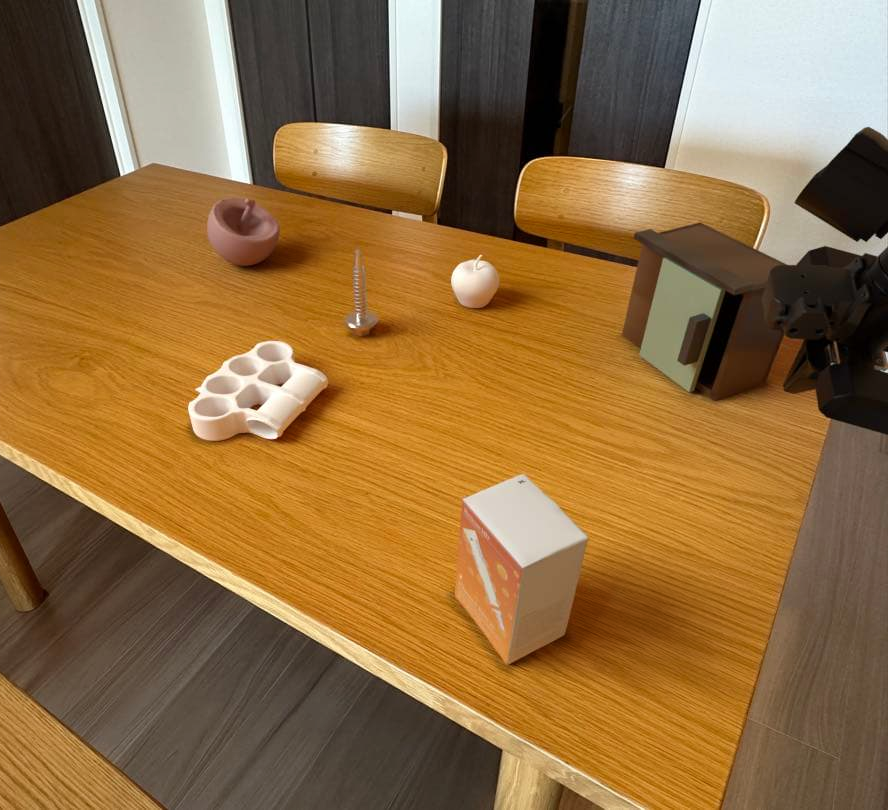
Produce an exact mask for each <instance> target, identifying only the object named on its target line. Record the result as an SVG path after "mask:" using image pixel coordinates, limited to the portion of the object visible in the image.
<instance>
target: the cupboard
mask: <svg viewBox="0 0 888 810" xmlns="http://www.w3.org/2000/svg"><path fill="white" fill-rule="evenodd" d="M633 239H634V240H635V241H637V242H639V243H640V244H641V248H640V251H639V257H638V261H637V264H636V265H637V266H636V269H635V275H634V279H633V284H632V288H631V292H630V297H629V301H628V305H627V310H626V314H625V319H624V323H623V328H622V333H621V336H623V338H625V339H626V340H628V341H629V342H631V343H632V344H633V345H634V346H636V347H638V348H639V349H640V350H641V346H642V342H643V338H644V334H645V330H646V326H647V322H648V318H649V314H650V309H651V305H652V301H653V297H654V293H655V289H656V285H657V281H658V277H659V273H660V269H661V265H662V261H663V258H665V257H667V258H669V259H671V260H672V261H674V262H676V263H678V264H679V265H681V266H683V267H685V268H687V269H688V270H690V271H692V272H694V273H695V274H697V275H699V276H701V277H702V278H704V279H706V280H708V281H710V282H711V283H713V284H715V285H717V286H718V287H720V288H722V289H724V290H726V292H725V295H724V298H723V301H722V304H721V307H720V310H719V314H718V317H717V320H716V323H715V326H714V329H713V332H712V336H711V339H710V342H709V345H708V348H707V351H706V354H705V358H704V361H703V364H702V367H701V370H700V373H699V376H698V380H697V383H696V386H695V389H696V390H698V391H699V392H701V393H703V394H704V395H705V396H706V397H708V398H709V399H710V400H712V401H714V402H715V401H718V400H720V399H723V398H727V397H729V396H733V395H736V394H738V393H742V392H744V391H747V390H751V389H753V388H757V387H760V386H763V385H766V382H767V380H768V377H769V375H770V372H771V370H772V367H773V364H774V362H775V359H776V357H777V354H778V352H779V350H780V347H781V344H782V341H783V339H784V336H785V335H784V331H778V330H773V329H770V328H769V327H767V326H766V324H765V322H764V307H763V302H762V296H763V293H764V290H765V286H766V283H767V280H768V277H769V274H770V271H771V269H772V268H773V267H775V266H778V265H788V264H787V263H785V262H783V261H781V260H779V259H777V258H775V257H773V256H770V255H768V254H767V253H765V252H762V251H760V250H758V249H756V248H754V247H752V246H750V245H748V244H746V243H744V242H742V241H740V240H737V239H736V238H733V237H731V236H729V235H727V234H725V233H723V232H721V231H719V230H718V229H715V228H713V227H711V226H709V225H707V224H705V223H703V222H696V223H692V224H688V225H683V226H681V227H676V228H671V229H668V230H663V231H660V232H657V231H656V230H653V229H651V228H648V229H645V230H641V231H636V232H634V235H633Z"/></svg>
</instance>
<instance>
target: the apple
mask: <svg viewBox="0 0 888 810" xmlns="http://www.w3.org/2000/svg"><path fill="white" fill-rule="evenodd" d="M482 257H483V254H479V256H478V257H477V258H476V259H470V260H465V261H463V262H460V263H459V264H458V265H457V266H456V267H455V268H454V270H453V272H452V274H451V276H450V283H451V288H452V290H453V292H454V295H455V297H456V299H457V301H458V302H459V304H460V305H461V306H463V307H465V308H469V309H482V308H484V307H486V306H487V305H488V304H489V303H490V302H491V300H492V299H493V297H494V295H495V294H496V292H497V291H498V289H499V285H500V275H499V272H498V269H496V267H494V266H493V265H492V263H490V262H489V261H486V260H481V259H482Z"/></svg>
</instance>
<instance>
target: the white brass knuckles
mask: <svg viewBox="0 0 888 810" xmlns="http://www.w3.org/2000/svg"><path fill="white" fill-rule="evenodd" d="M328 384H329V379H328V377H327V375H325V374H324V373H323V372H321V371H320V370H319V369H316V368H314V367H310V366H308V365H304V364H302V363H298V362H296V360H295V351H294V349H293V348H292V346H291V345H289V344H288V343H286V342H283V341H280V340H267V341H262V342H259V343H257V344H255V346H254V347H253V348H252V349H251V350H248V352H245V353H242V354H238V355H234V356H232V357H230V358H229V359H226V360H225V361H223V363H222V366H221V367H220V368H218V370H217V371H215V372H214V373H211V374H209V375H207V376H206V377H205V379H204V381H203V382H202V384H201V385H200V386H199V387H197V388H194V390H195V391H196V392H198V393H199V395H197V397H196V398H194V399H193V400H191V401H190V402H189V403H188V407H187V409H188V410H187V411H188V416H189V418H190V422H191V426H192V430H193V432H194V434H195V435H196V436H197V437H198V438H199V439H202V440H205V441H208V442H209V441H210V442H218V441H225V440H227V439H230V438H233V437H234V436H236V435H238V434H245V433H247V434H248V433H249V434H251V435H255V436H258V437H261V438H263V439H267V440H275V439H277V438H280V437H281V436H282V435H283V434H284V431H286V429H287V428H288V427H289V426H290V425H291V424H292V423H293V422H294V421H295V420H296V418H297V417H299V415H301V413H304V412H305V411H306V410H307V407H308V406H309V405H310V404H311V403H312V401H313V400H315V398H316V397H318V395H320V393H321V392H322V391H323V390H325V389H326V388H328ZM279 385H282V386H279ZM256 405H261V406H260V407H259V408H258V409H257V410H256V409H252V408H253V407H254V406H256Z"/></svg>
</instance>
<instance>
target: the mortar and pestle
mask: <svg viewBox="0 0 888 810" xmlns="http://www.w3.org/2000/svg"><path fill="white" fill-rule="evenodd" d="M206 231H207V238H208V241H209V243H210V246H211V247H212V249H213V250H214V252H215V253H216V254H217V255H218V256H219V257H220V258H221V259H223V260H224V261H226V262H228V263H230V264H231V265H235V266H241V267H249V266H254V265H257V264H259V263H261V262H263V261H265V260H266V259H267V258H268V257H269V256H270V255H272V253H273V252H274V250H275V249H276V247H277V245H278V242H279V238H280V223H279V222H278V220H277V219H276V218H275V217H274V215H273V214H272V213H270V212H269V211H268V210H267V209H266V208H264V207H263V206H261V205H259V204H257V203H256V200H255V199H253V198H247V197H245V198H241V197H227V198H222V199H219V200H218V201H217V202H216V203H215V204H213V206H212V208H211V210H210V212H209V214H208V218H207V222H206Z"/></svg>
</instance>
